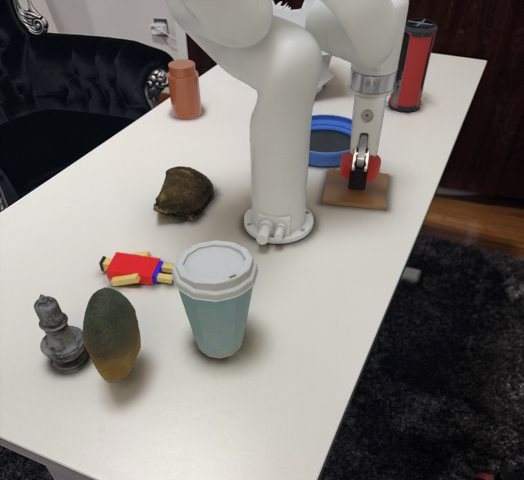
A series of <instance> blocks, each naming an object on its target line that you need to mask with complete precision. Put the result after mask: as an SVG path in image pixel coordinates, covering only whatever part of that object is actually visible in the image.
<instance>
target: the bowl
mask: <svg viewBox="0 0 524 480" xmlns="http://www.w3.org/2000/svg"><path fill="white" fill-rule="evenodd" d="M351 126H352V118H350V117H346V116H344V115H337V114H322V113H321V114H312V120H311V133H310V148H309V164H308V165H311V166H316V167H337V166H340V163H341V157H342V155H343V154H344V153H346V152H349V151H350V146H351Z"/></svg>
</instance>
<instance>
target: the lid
mask: <svg viewBox="0 0 524 480" xmlns="http://www.w3.org/2000/svg"><path fill="white" fill-rule="evenodd" d="M358 151H359V150H356V152H358ZM365 153H367V151H366V152H365ZM353 156H354V155H353V154H351V152H350V151H349V152H346V153H344V154H343V155H342V157H341V163H340V165H339V169H340V174H341V175H342V176H343V177H344V178H346V179H348V180H349V175H350V168H352V163H353ZM357 158H358V156H356V160H357ZM365 159H366V157H365ZM365 159H364V161H365ZM381 164H382V158H381V157H380V156H379V154H377V155H376V156H373V155H370V152H369V159H368V166H367V169H368V174H367V180H366V182H368V181H372V180H374V179H376V178H377V177H378V175H379V173H380V171H381Z"/></svg>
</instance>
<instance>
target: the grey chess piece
mask: <svg viewBox="0 0 524 480" xmlns="http://www.w3.org/2000/svg"><path fill="white" fill-rule="evenodd" d="M33 309H34V312H35V314H36V316H37V318H38V320H39V321H38V327H39V328H40V330H41V331H44V336H43V337H42V339H41V341H40V343H39V344H40V345H39V348H40V351H41V353H42V355H44V356H46V357H47V358H49V359H50V365H51V367H52V369H53V370H54V371H56V372H57V373H61V374H70V373H71V374H72V373H74V372H77V371H79V370H81V369H83V368H84V367H85V366H86V365H87V364H88V363H89V361H90V359H91V357H90V355H89V353H88V351H87V350H86V348H85V346H84V343H83V337H82V335H83V329H81V328H80V327H78V326H75V325H69V323H68V322H69V317H68V315H67V313H65V312H63V311H62V308H61V306H60V304H59V302H58V300H57V299H56V298H55V297H52V296H50V295H44V294H41V293H40V295H39V296H38V299H36V300H35V302H34V304H33Z"/></svg>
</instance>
